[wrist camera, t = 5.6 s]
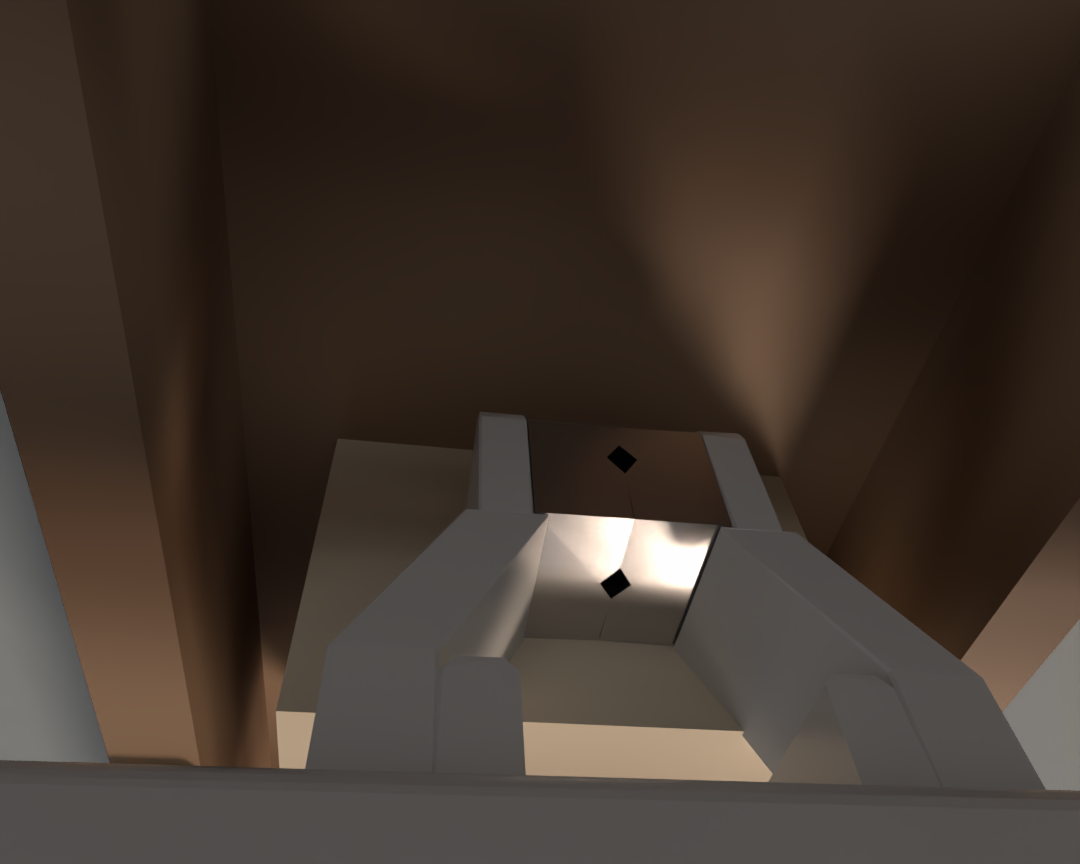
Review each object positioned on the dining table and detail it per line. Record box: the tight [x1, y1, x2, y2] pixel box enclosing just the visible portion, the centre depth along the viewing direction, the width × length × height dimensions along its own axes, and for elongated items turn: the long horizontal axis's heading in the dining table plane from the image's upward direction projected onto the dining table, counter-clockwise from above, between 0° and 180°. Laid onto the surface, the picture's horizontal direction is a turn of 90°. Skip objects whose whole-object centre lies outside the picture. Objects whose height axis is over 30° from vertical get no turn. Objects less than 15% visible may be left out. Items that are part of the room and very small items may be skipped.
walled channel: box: [0, 0, 1080, 768], centre depth 14 cm, size 23×10×5 cm, turn 171°
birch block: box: [276, 439, 807, 782], centre depth 11 cm, size 6×6×4 cm
